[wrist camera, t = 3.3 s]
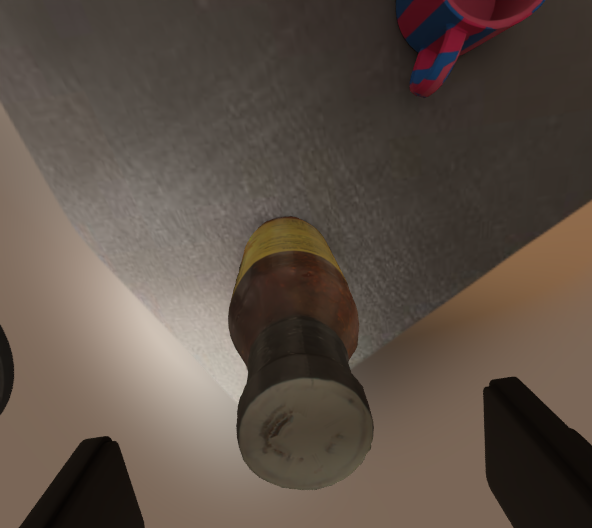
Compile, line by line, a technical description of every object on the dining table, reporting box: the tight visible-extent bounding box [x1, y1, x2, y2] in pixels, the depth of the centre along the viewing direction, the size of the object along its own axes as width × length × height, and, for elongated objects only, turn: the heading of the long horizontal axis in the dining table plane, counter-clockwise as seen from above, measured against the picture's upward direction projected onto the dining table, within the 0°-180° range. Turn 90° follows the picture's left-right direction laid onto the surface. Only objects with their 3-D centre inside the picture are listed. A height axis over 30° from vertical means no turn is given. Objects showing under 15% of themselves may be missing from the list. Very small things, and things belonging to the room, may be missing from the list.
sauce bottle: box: [228, 216, 374, 490], centre depth 21 cm, size 6×6×20 cm
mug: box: [396, 0, 545, 98], centre depth 23 cm, size 7×10×7 cm
